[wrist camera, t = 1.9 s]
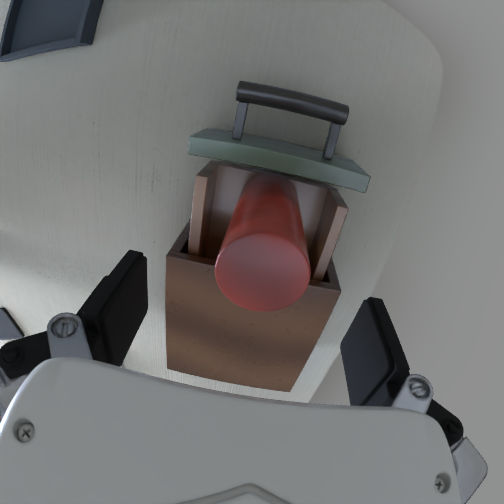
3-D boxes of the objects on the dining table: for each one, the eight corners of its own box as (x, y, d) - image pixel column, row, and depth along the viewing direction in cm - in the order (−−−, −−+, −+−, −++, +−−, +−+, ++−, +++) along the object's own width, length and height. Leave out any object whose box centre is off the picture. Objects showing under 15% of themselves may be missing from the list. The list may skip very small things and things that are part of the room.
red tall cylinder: (271, 160, 20) (267, 212, 12) (309, 204, 22) (329, 281, 13) (228, 197, 22) (194, 270, 13) (265, 236, 23) (257, 325, 15)
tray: (119, -45, 12) (109, -52, 10) (92, 44, 17) (79, 42, 15) (28, -16, 12) (17, -18, 10) (8, 61, 17) (-4, 62, 15)
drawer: (215, 79, 18) (199, 74, 14) (365, 113, 19) (388, 118, 14) (190, 264, 27) (175, 296, 23) (309, 288, 27) (314, 323, 23)
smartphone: (24, 339, 39) (-3, 340, 42) (26, 336, 40) (-1, 338, 43) (1, 308, 36) (-22, 314, 39) (4, 305, 36) (-20, 312, 39)
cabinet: (190, 217, 25) (165, 255, 20) (328, 246, 26) (341, 291, 20) (182, 324, 32) (167, 368, 26) (289, 345, 32) (289, 392, 27)
